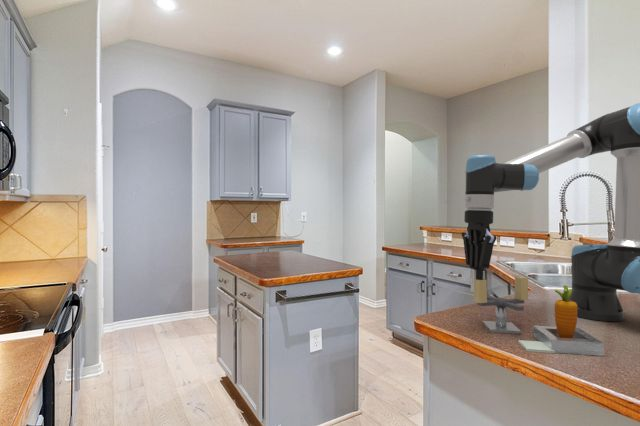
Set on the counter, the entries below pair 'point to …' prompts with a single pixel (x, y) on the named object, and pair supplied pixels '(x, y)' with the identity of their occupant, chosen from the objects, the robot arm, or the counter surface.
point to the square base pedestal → (501, 322)
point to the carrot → (565, 314)
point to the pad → (535, 346)
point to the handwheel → (520, 296)
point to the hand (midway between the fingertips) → (476, 291)
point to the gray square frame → (569, 341)
